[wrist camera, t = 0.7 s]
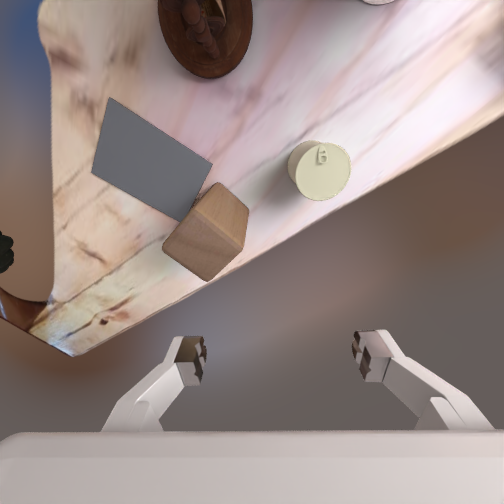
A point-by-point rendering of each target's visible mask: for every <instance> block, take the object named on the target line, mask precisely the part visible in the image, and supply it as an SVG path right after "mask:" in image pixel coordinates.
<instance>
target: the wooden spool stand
mask: <svg viewBox="0 0 504 504" xmlns="http://www.w3.org/2000/svg"><path fill="white" fill-rule="evenodd" d="M158 15H159V21H160V26H161V30H162V33H163V36H164V39H165V41H166V43H167V45H168V47H169V49H170V51H171V52H172V54H173V55H174V57H175V58H176V59H177V61H178V62H179V63H180V64H181V65H182V66H183V67H185V68H186V69H187V70H188V71H190V72H191V73H193V74H195V75H197V76H199V77H203V78H210V79H211V78H219V77H222V76H224V75H226V74H228V73H230V72H231V71H232V70H234V69H235V68H236V67H237V65H238V64H239V63H240V62H241V60H242V59H243V57H244V55H245V53H246V51H247V49H248V46H249V43H250V39H251V34H252V26H253V12H252V2H251V0H158Z"/></svg>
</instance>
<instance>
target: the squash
mask: <svg viewBox="0 0 504 504" xmlns="http://www.w3.org/2000/svg"><path fill="white" fill-rule="evenodd" d="M12 246H13V239H12V238H11V237H8V236H5V235H2V232H1V231H0V273H3V272H5V271H6V270H7V269H8V268H9V266H10V265H12V264H13V261H14V258H13V257H14V252H13V251H12V250H11V249H10V248H11V247H12Z"/></svg>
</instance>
